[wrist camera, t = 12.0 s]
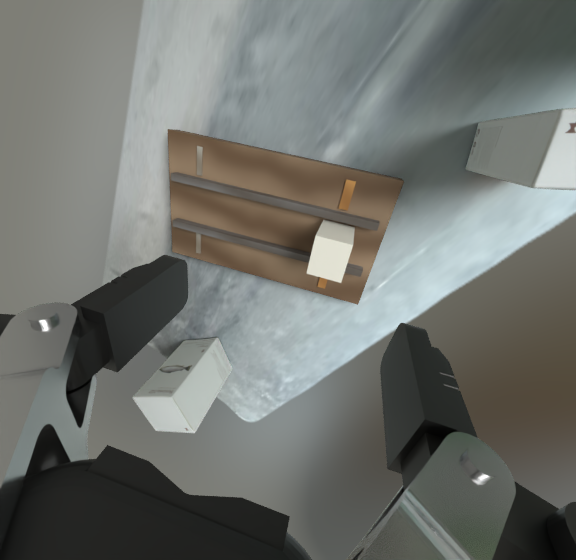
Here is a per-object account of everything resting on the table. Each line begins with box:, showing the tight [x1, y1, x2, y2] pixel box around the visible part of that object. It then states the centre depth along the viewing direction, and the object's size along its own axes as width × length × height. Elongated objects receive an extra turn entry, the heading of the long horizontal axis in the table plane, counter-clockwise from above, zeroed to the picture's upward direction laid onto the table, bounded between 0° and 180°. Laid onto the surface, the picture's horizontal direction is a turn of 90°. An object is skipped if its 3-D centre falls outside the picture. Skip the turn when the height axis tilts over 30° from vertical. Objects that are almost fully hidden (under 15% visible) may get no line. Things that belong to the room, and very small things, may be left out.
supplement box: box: [132, 337, 232, 433], centre depth 42 cm, size 7×7×13 cm
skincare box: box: [466, 108, 576, 190], centre depth 20 cm, size 6×4×12 cm
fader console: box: [168, 129, 404, 304], centre depth 32 cm, size 15×26×3 cm, turn 80°
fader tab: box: [307, 220, 355, 283], centre depth 28 cm, size 4×4×6 cm
